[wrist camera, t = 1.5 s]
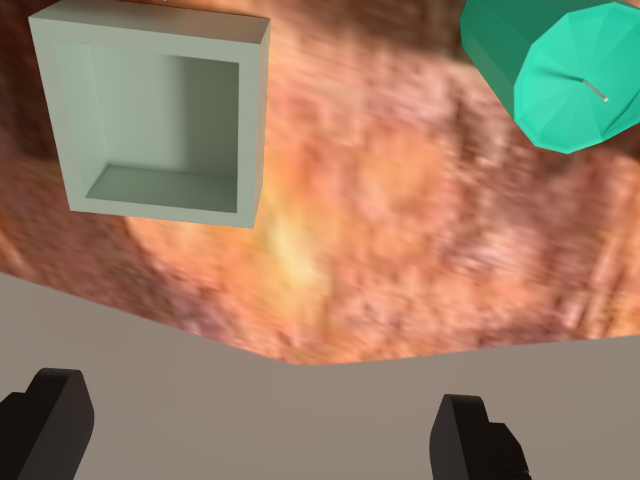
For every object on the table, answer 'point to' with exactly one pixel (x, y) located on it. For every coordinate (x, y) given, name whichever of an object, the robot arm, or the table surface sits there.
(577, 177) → the table surface
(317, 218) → the table surface
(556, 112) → the candle
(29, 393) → the robot arm
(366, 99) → the table surface
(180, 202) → the bin
